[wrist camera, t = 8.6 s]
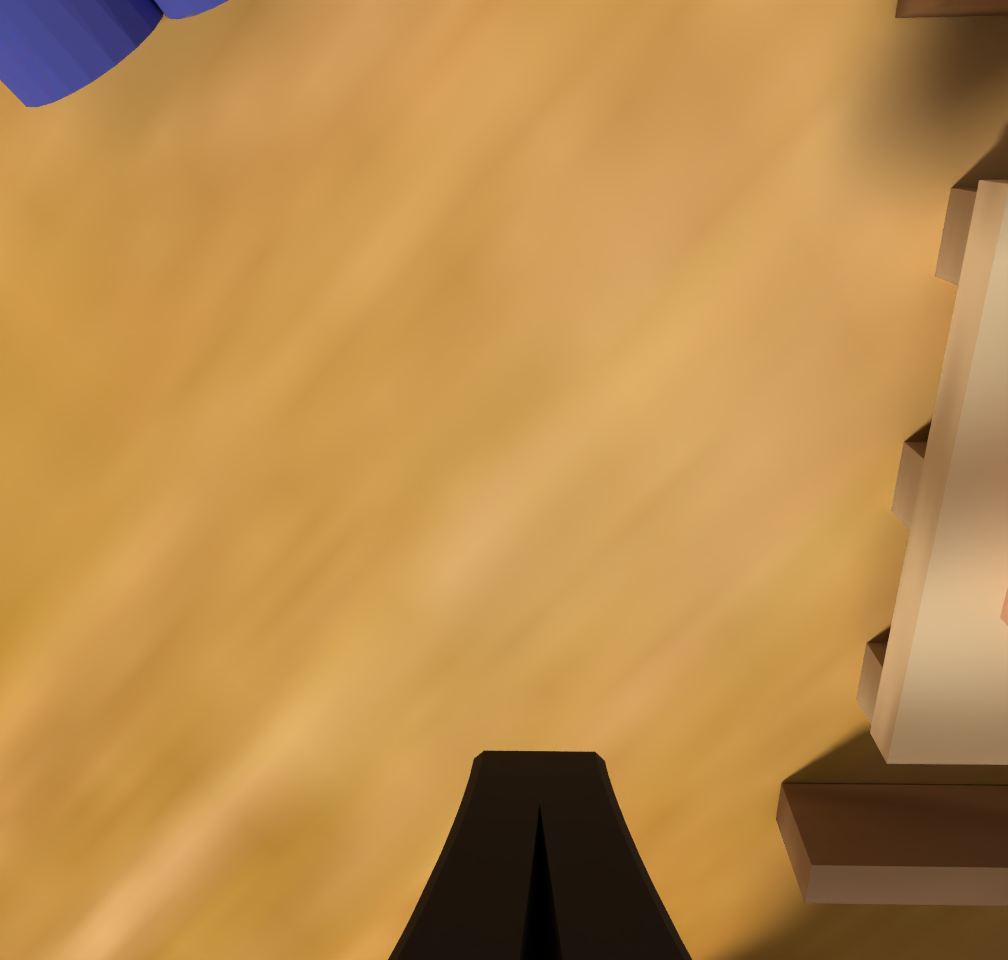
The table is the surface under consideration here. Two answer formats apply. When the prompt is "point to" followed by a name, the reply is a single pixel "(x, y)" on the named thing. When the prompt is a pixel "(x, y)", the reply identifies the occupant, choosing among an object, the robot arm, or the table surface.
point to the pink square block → (1005, 609)
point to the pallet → (954, 524)
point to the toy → (75, 40)
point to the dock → (901, 788)
